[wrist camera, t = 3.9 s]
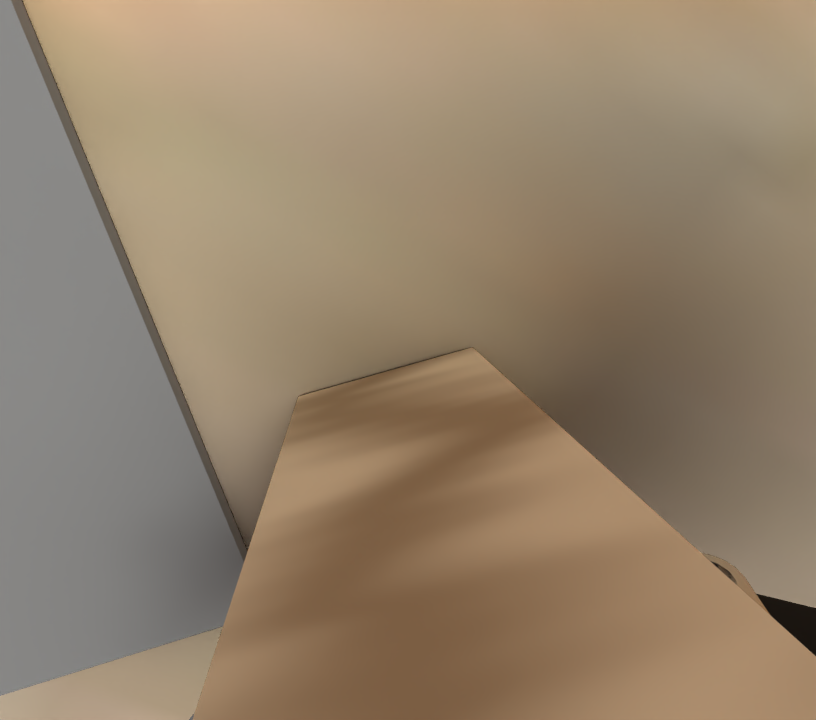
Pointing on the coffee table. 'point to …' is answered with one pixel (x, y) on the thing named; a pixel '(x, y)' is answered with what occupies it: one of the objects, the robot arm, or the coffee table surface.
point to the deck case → (479, 576)
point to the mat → (88, 417)
